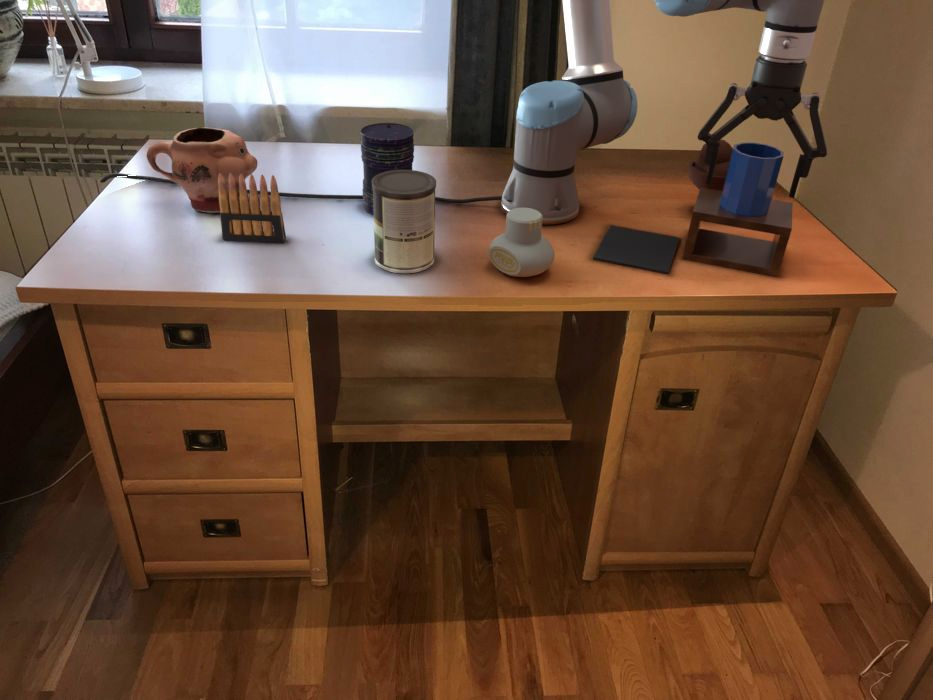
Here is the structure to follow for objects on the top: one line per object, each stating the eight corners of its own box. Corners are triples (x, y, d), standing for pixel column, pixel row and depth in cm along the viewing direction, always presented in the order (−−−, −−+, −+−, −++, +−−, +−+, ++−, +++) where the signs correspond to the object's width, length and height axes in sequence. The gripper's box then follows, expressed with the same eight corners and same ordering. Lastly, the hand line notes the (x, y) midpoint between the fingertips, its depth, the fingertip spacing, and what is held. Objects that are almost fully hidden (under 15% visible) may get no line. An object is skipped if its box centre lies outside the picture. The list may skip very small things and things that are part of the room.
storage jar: (412, 218, 143) (412, 140, 135) (360, 216, 143) (357, 138, 134) (415, 198, 151) (415, 123, 143) (366, 196, 151) (363, 121, 143)
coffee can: (361, 260, 128) (358, 180, 120) (403, 241, 135) (402, 164, 127) (405, 280, 123) (405, 198, 115) (447, 259, 130) (449, 180, 122)
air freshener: (560, 273, 127) (567, 218, 121) (527, 289, 122) (533, 232, 116) (512, 251, 133) (517, 197, 128) (479, 265, 128) (482, 209, 123)
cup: (718, 211, 129) (731, 153, 123) (722, 194, 135) (735, 139, 130) (767, 219, 127) (783, 161, 121) (768, 202, 133) (784, 146, 128)
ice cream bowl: (738, 227, 146) (758, 151, 138) (679, 220, 147) (695, 144, 139) (733, 206, 155) (751, 133, 146) (677, 200, 156) (692, 127, 148)
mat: (592, 259, 132) (593, 257, 132) (610, 226, 144) (610, 224, 143) (668, 274, 128) (668, 272, 128) (679, 239, 140) (679, 237, 140)
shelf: (682, 258, 133) (692, 211, 128) (690, 232, 143) (700, 187, 138) (777, 277, 129) (792, 228, 124) (779, 248, 139) (792, 202, 134)
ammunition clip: (222, 240, 132) (212, 174, 126) (225, 235, 134) (216, 170, 127) (283, 243, 132) (277, 177, 126) (286, 238, 134) (279, 173, 127)
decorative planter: (146, 218, 138) (131, 143, 131) (162, 192, 148) (149, 122, 141) (258, 218, 140) (249, 144, 133) (266, 193, 150) (259, 123, 143)
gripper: (697, 53, 118) (672, 183, 129) (871, 72, 111) (828, 208, 123) (702, 44, 124) (678, 170, 135) (868, 62, 117) (827, 192, 129)
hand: (749, 188), depth 129 cm, fingers open, 13 cm apart
